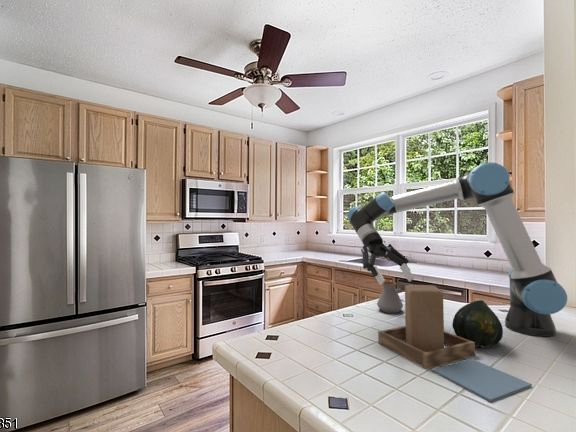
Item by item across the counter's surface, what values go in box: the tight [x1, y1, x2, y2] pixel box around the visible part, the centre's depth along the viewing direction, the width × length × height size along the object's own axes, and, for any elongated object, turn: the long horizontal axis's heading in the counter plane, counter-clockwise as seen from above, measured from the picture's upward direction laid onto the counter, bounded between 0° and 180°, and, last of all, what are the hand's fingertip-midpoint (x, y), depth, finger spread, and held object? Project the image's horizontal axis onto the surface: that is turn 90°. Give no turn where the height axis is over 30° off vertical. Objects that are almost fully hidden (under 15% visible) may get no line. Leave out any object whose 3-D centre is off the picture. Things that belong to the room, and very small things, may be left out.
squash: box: [452, 300, 504, 348], centre depth 105 cm, size 14×15×15 cm
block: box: [404, 284, 445, 352], centre depth 101 cm, size 10×10×20 cm
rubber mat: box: [432, 357, 533, 403], centre depth 81 cm, size 16×16×1 cm
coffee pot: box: [376, 281, 416, 314], centre depth 139 cm, size 21×12×15 cm, turn 25°
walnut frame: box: [377, 325, 476, 370], centre depth 101 cm, size 20×20×4 cm
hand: (397, 281), depth 111 cm, fingers open, 13 cm apart
